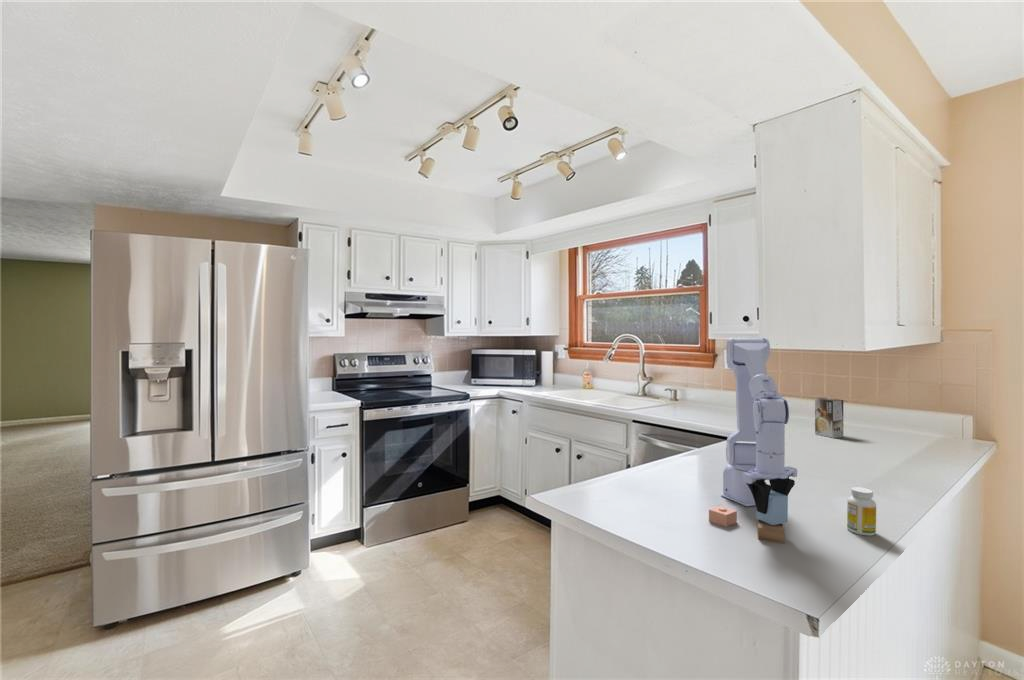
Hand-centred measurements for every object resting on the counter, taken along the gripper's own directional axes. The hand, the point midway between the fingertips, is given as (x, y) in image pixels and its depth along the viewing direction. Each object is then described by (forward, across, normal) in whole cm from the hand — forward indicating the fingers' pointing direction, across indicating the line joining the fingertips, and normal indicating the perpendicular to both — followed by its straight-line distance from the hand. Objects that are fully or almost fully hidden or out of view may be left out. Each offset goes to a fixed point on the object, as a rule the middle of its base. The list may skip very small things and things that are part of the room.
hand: (769, 510), depth 111 cm
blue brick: (+2, 0, 0) cm, 2 cm away
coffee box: (+5, +110, +67) cm, 129 cm away
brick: (+5, -5, +9) cm, 12 cm away
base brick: (+5, 0, 0) cm, 5 cm away
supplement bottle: (+5, +20, -7) cm, 22 cm away
